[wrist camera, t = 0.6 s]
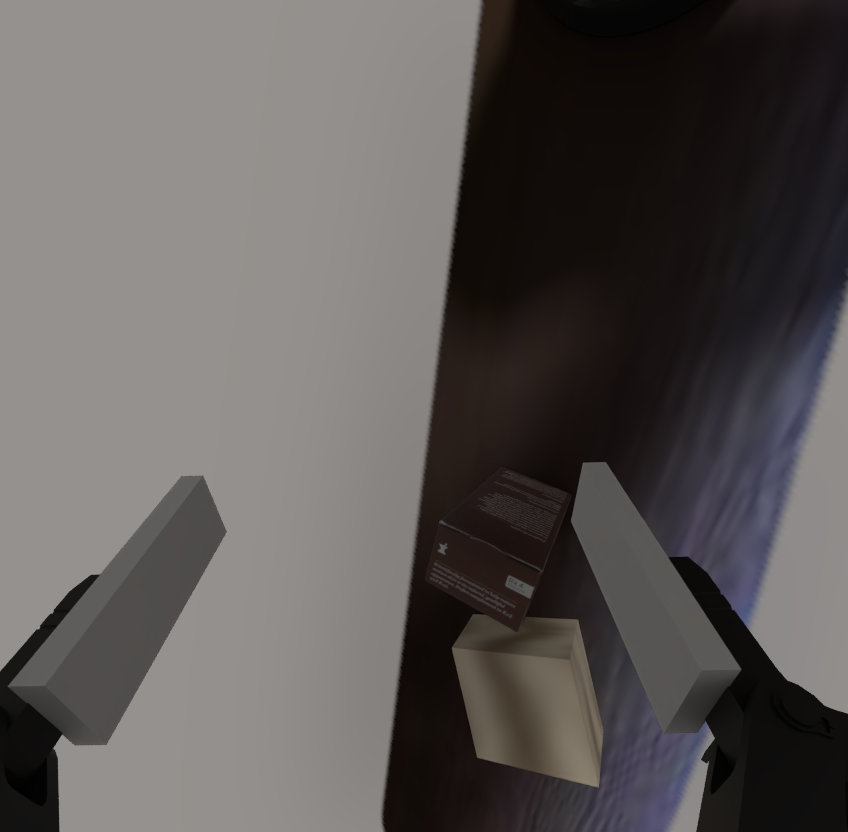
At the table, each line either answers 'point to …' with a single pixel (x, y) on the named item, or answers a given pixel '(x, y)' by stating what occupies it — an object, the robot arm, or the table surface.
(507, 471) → the box
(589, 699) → the ash block
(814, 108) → the table surface
